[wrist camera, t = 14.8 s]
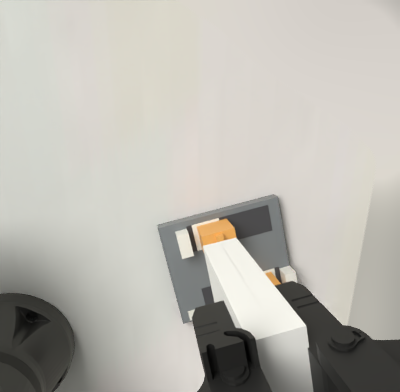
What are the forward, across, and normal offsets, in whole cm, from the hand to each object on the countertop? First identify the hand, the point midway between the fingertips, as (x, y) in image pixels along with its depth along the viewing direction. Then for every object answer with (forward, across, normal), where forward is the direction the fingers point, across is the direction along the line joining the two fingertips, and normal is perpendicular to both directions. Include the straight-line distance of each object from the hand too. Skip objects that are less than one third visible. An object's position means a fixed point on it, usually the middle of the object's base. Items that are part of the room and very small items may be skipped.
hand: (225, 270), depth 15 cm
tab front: (+28, +4, -9) cm, 29 cm away
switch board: (+29, +5, -13) cm, 32 cm away
